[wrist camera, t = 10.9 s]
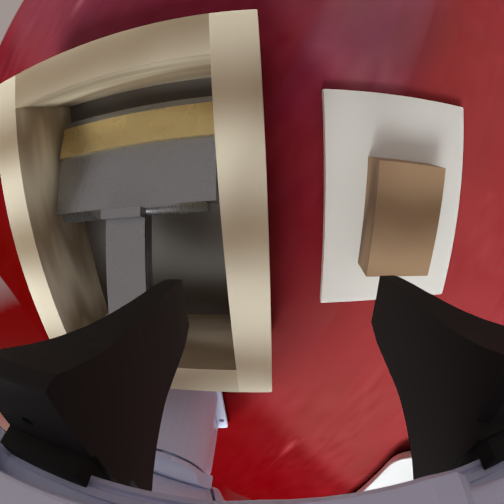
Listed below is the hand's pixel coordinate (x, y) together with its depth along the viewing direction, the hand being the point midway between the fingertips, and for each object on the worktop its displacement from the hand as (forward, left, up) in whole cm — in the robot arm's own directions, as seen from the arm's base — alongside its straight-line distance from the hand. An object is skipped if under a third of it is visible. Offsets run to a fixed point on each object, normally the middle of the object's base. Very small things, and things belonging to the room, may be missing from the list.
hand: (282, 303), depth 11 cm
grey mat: (+1, -8, -9) cm, 12 cm away
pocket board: (+2, +8, -9) cm, 12 cm away
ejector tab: (+1, +8, -6) cm, 10 cm away
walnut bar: (+1, -8, -9) cm, 12 cm away
